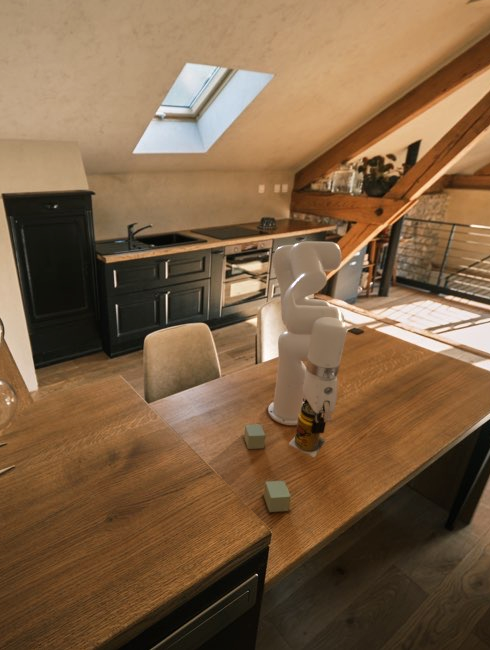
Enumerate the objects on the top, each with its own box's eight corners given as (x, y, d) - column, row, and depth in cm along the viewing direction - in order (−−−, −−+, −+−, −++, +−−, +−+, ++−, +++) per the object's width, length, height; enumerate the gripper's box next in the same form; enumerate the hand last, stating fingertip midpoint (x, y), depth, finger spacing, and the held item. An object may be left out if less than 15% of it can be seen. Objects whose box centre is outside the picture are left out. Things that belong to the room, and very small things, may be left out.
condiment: (288, 444, 104) (293, 409, 99) (301, 428, 110) (307, 394, 105) (314, 458, 100) (321, 422, 95) (326, 440, 106) (333, 405, 101)
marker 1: (259, 436, 122) (260, 424, 120) (263, 448, 117) (265, 435, 115) (243, 437, 121) (245, 425, 119) (247, 449, 117) (249, 436, 115)
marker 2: (281, 494, 101) (284, 480, 99) (288, 511, 97) (290, 496, 95) (263, 495, 101) (265, 481, 99) (269, 512, 96) (271, 497, 94)
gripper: (354, 386, 87) (340, 446, 94) (322, 348, 102) (312, 402, 110) (322, 387, 86) (311, 448, 94) (295, 349, 102) (287, 403, 109)
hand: (312, 423), depth 102 cm, fingers closed on condiment, 6 cm apart
